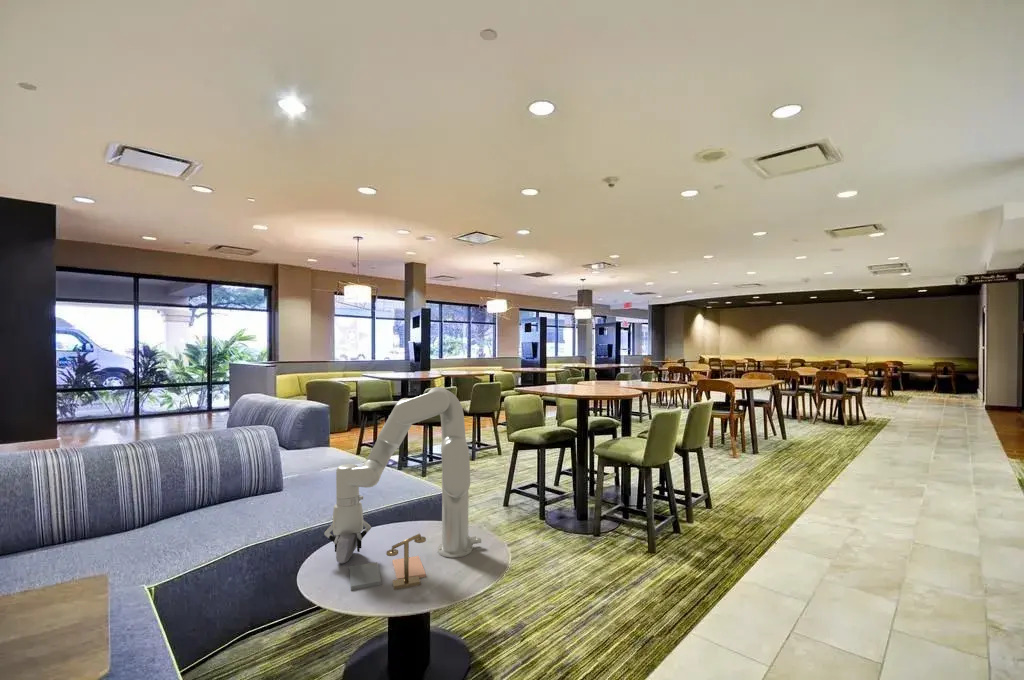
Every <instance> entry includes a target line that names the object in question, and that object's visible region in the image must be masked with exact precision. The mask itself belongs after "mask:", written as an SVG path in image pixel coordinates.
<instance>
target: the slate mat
mask: <svg viewBox="0 0 1024 680" xmlns="http://www.w3.org/2000/svg"><path fill="white" fill-rule="evenodd" d="M349 582H350V591H353V590H358V589H359V590H360V589H366V588H370V587H376V586H382V578H381V574H380V569H379V563H378V561H376V562H369V563H364V564H356V565H350V566H349Z"/></svg>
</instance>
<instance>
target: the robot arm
mask: <svg viewBox="0 0 1024 680" xmlns="http://www.w3.org/2000/svg"><path fill="white" fill-rule="evenodd" d="M463 409H464V408H463V406H462V404H461V402H460V400H459V398H458V397H457V395H455V394H454V393H453V392H451V391H450V390H448V389H446V388H444V387H439V386H436V387H432V388H431V389H429V391H427V393H423V394H420V395H419V396H418V395H417V396H415V397H411V398H410V397H409V398H408V397H404V398H401V399H399V400H398V401H397V403H396V404H395V405H394V407H393V409H392V410H391V413H390V414H389V416H388V418H387V419H386V421H385V423H384V425H383V426H382V428H381V429H380V431H379V433H378V435H377V439H376V441H375V443H374V445H373V447H372V449H371V451H370V452H369V454H368V456H367V458H366V459H365V461H364V463H363V464H362V466H360V467H359V466H358V465H356V464H354V463H353V464H352V463H346V464H342V465H339V466H338V467H337V468H336V472H335V473H336V474H335V476H336V477H335V478H336V479H335V480H336V481H335V483H336V489H335V490H336V495H335V497H336V498H335V499H336V501H335V502H336V504H334V505H333V512H332V524H331V525H330V526H329V527H328V528H327V529H326V530H325V531H324V536H325V537H327V538H328V539H329V540H330V541H331V542H332V543H333V544H334V552H335V553H336V549H337V543H338V541H339V538H340V536H341V535H342V534H354V533H356V534H357V536H358V538H357V547H356V549H357V553H360V549H362V540H363V538H364V537H365V536H366V535H367V533H368V532H369V531H370V530H371V529H372V526H371V525H370V524H369V523H368V522H367V521H366V520H364V514H363V511H364V510H363V505H362V501H361V500H364V495H360V488H368V489H369V488H373V487H376V485H377V484H379V481H380V479H381V476H382V474H383V472H384V470H385V469H386V467H387V465H388V463H389V461H390V459H391V458H392V457H393V454H394V453H395V452H396V450H397V449H398V448H399V447H400V446H401V444H402V443H403V441H404V439H405V438H406V436H407V434H408V432H409V430H410V429H411V427H412V426H413V424H416V423H419V422H422V421H425V420H427V419H428V420H429V419H430V418H433V417H436V416H440V424H441V425H440V426H441V445H440V446H441V447H440V453H441V454H440V455H441V471H442V472H441V473H442V474H441V497H442V498H441V505H442V506H441V509H442V510H441V544H439V546H438V547H437V553H438V555H440V556H442V557H444V558H445V557H446V558H449V559H450V558H451V559H452V558H453V559H454V558H462V557H465V556H467V555H470V553H472V552H473V548H474V547H473V545H475V544H482V537H476V536H470V535H469V508H470V507H469V506H470V505H469V490H470V487H471V466H470V464H471V462H470V461H471V460H470V451H469V449H470V448H469V446H468V442H467V440H466V425H465V424H466V423H465V415H464V410H463ZM331 532H332V534H331Z"/></svg>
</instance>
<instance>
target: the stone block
mask: <svg viewBox="0 0 1024 680" xmlns="http://www.w3.org/2000/svg"><path fill="white" fill-rule="evenodd" d="M357 538H358V536H357V534H356V533H354V534H342V535H340V537H339V540H338V543H337V549H336V552H335V554H336V555H335V558H336V559H335V560H336V562H337V563H339V564H345V563H347V562H348V561H349V560H350V559H351V557H352V555H353V553H354V551H355V550H356V549H357Z"/></svg>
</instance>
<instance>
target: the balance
mask: <svg viewBox="0 0 1024 680" xmlns="http://www.w3.org/2000/svg"><path fill="white" fill-rule="evenodd" d="M412 541H414V542H415V543H417V544H421V543H422V544H423V543H425V542H426V541H427V537H426V536H422V535H421V533H418V534H415V535H413V536H411V537H408V538H407V539H405V540H401V541H400V542H398V543H396V544H394V545H391V549H388V550H386V551H385V552H386V553H385V554H386V556H388V557H395V556H398V555H399V550H398V548H399V547H401V546H403V558H404V578H402V579H393V580H392V587H393V590H394V591H395V590H399V589H404V588H410V587H416V586H420V585H421V579H420V578H419V577H418V576H414V577H409V557H410V556H409V554H410V553H409V552H410V547H409V546H410V545H409V544H410V542H412ZM396 548H397V549H396Z"/></svg>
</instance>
